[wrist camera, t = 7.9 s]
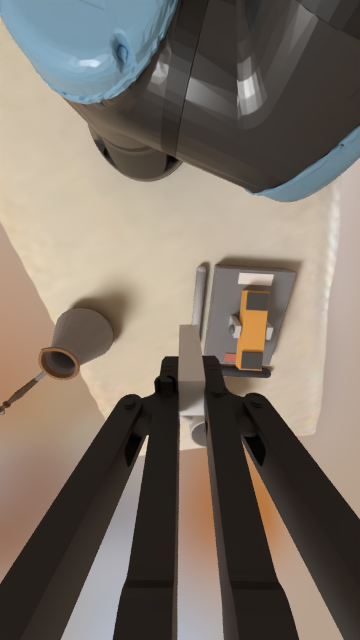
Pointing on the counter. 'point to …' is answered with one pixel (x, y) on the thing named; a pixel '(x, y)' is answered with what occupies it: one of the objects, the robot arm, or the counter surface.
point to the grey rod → (199, 296)
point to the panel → (228, 302)
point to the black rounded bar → (245, 372)
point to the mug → (196, 428)
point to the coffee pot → (71, 347)
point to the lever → (252, 330)
